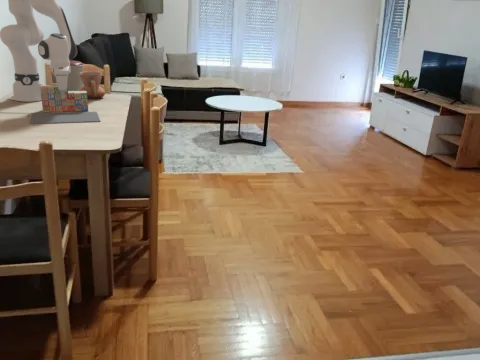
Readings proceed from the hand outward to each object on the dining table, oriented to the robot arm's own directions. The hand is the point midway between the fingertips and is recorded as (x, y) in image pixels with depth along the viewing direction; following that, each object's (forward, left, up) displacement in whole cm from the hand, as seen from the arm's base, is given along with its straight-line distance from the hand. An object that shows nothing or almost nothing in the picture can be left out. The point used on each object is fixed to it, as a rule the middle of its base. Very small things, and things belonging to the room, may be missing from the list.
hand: (63, 97), depth 228 cm
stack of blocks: (0, +1, -7) cm, 7 cm away
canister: (-52, +5, -7) cm, 53 cm away
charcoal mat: (+16, 0, -7) cm, 17 cm away
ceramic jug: (-32, +16, -7) cm, 37 cm away
